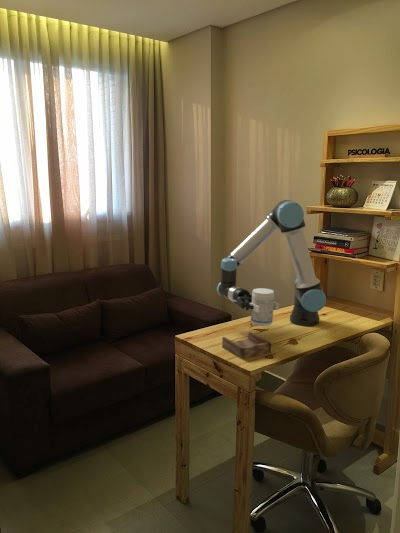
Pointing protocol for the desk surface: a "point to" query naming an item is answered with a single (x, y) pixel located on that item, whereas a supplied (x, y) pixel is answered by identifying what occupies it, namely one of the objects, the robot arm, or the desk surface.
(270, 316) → the supplement tub
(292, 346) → the desk surface
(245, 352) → the tray
